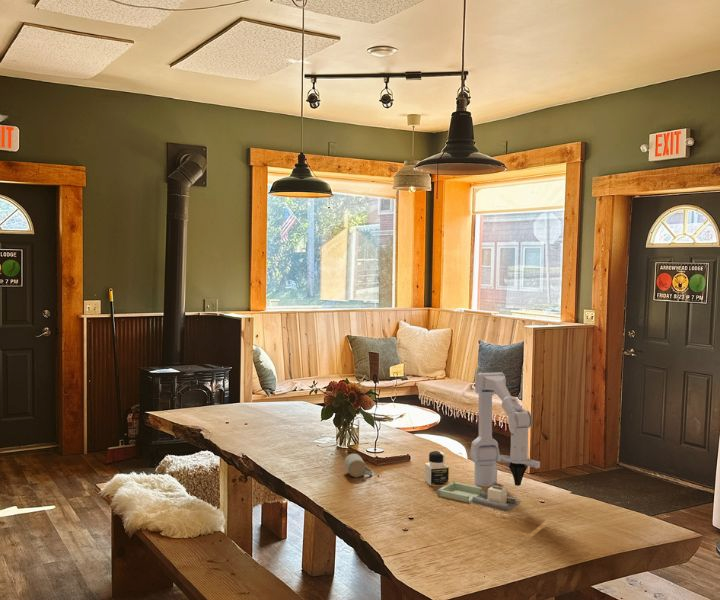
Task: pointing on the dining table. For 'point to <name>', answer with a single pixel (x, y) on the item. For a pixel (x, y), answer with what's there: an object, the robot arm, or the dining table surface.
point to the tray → (459, 491)
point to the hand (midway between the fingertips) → (517, 485)
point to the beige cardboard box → (497, 494)
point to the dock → (494, 502)
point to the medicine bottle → (436, 469)
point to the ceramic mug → (356, 466)
